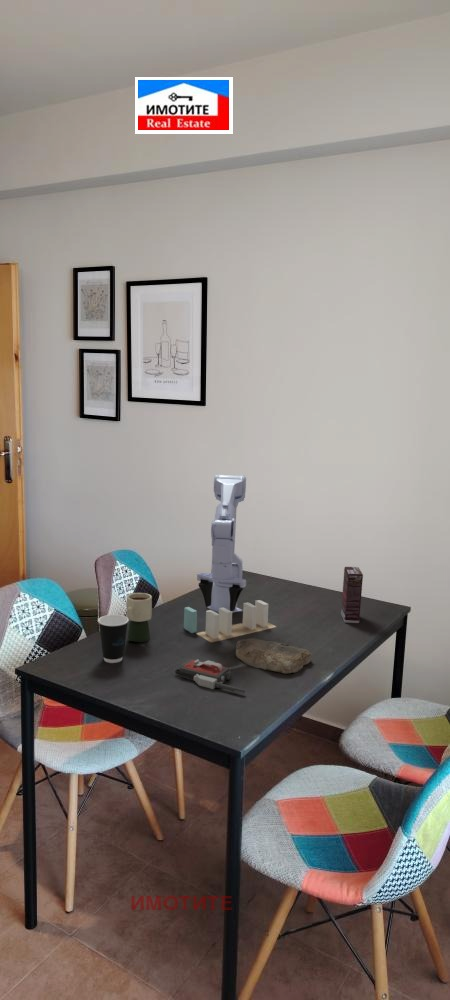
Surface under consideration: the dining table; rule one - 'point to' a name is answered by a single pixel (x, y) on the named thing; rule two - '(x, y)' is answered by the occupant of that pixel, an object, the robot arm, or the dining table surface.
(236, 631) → the oak board
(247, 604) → the domino
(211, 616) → the domino
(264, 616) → the domino
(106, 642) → the dixie cup
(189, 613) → the teal domino
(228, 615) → the domino
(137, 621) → the character mug
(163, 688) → the dining table surface
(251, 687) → the dining table surface
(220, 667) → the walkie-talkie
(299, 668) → the rough brown rock
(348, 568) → the supplement box
